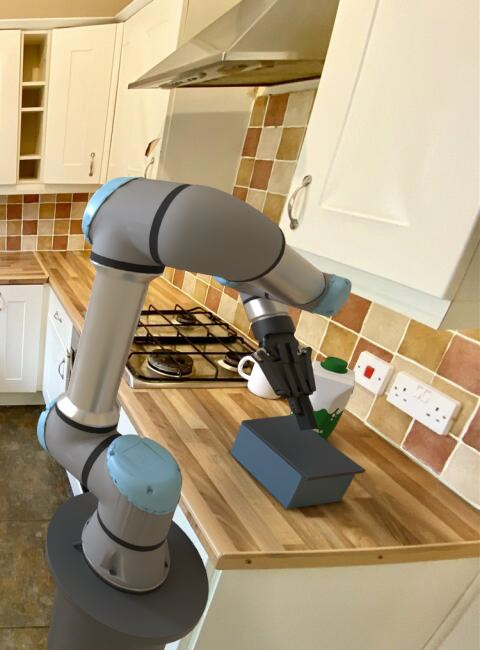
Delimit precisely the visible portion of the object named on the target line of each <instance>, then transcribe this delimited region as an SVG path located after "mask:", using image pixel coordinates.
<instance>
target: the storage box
mask: <svg viewBox="0 0 480 650" xmlns="http://www.w3.org/2000/svg"><path fill="white" fill-rule="evenodd" d="M230 454H231V456H233V457H234V459H236V460H237V461H238V462H239V463H240V465H242V466H243V468H245V470H247V471H248V472H249V473H250V474H251V475H252V476H253V477H254V479H256V480H257V481H258V482H259V483H260V484H261V485H262V486H263V487H264V488H265V489H266V490H267V491H268V492H269V493H270V494H271V495H272V496H273V497H274V498H275V499H276V500H277V501H278V502H279V503H280V505H282V506H283V507H284V508H285V509H286V510H288V509H295V508H302V507H310V506H315V505H323V504H329V503H336V502H341V501H342V500H343V498H344V497H345V495H346V493H347V491H348V489H349V487H350V486H351V484H352V482H353V480H354V478H355V477H356V475H357V474H353V475H345V476H338V477H331V478H324V479H316V480H309V481H307V480H305V479H304V478H303V477H302V476H301V475H300V474H299V473H298V472H296V471H295V470H294V469H293V468H292V467H291V466H290V465H288V464H287V463H286V462H285V461H284V460H283V459H282V458H280V457H279V456H278V455H277V454H276V453H275V452H274V451H272V450H271V449H270V448H269V447H268V446H267V445H266V444H265V443H263V442H262V441H261V440H260V439H259V438H258V437H257V436H255V435H254V434H253V433H252V432H251V431H250V430H249V429H247V428H246V427H245V426H244V425H243V424H242V422H241V423H240V426H239V428H238V431H237V433H236V436H235V439H234V442H233V446H232V447H231V450H230Z"/></svg>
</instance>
